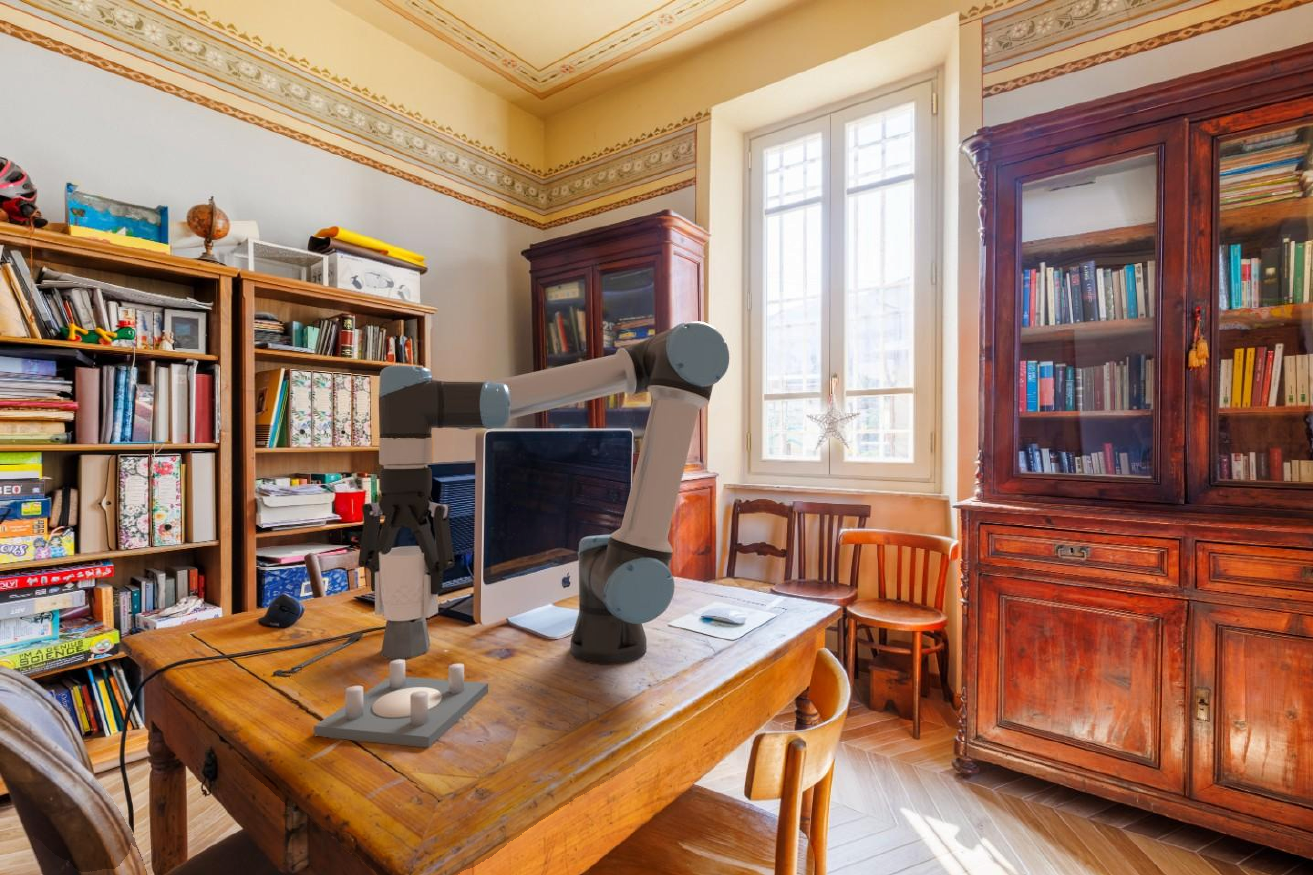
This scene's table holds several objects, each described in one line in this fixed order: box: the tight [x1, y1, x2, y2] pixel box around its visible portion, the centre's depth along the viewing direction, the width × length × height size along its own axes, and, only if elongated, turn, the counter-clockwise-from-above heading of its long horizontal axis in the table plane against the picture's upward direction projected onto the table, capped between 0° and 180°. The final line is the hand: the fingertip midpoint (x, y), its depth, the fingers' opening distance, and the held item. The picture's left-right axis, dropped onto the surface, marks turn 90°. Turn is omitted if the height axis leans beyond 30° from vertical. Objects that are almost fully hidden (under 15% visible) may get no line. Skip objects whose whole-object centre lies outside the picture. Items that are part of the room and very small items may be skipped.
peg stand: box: [313, 659, 489, 748], centre depth 93 cm, size 18×18×6 cm
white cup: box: [379, 545, 429, 621], centre depth 93 cm, size 8×8×10 cm
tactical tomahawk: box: [273, 632, 364, 679], centre depth 117 cm, size 21×7×1 cm, turn 166°
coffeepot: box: [380, 617, 431, 660], centre depth 118 cm, size 15×9×18 cm, turn 33°
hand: (406, 613), depth 93 cm, fingers closed on white cup, 8 cm apart
